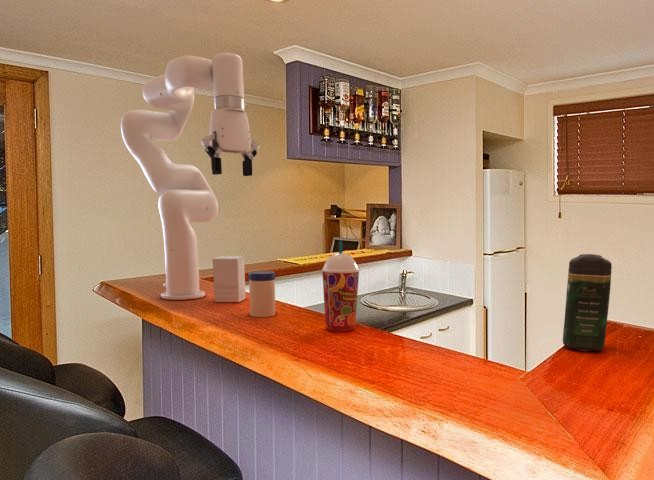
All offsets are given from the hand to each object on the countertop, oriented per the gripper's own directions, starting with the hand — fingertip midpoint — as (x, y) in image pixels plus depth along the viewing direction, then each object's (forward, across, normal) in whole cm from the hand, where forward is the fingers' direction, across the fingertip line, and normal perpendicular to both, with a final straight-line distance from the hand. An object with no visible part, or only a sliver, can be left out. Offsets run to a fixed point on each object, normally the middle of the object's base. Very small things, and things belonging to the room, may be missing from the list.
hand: (232, 175), depth 145 cm
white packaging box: (+35, -6, -12) cm, 38 cm away
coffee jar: (+38, -22, +83) cm, 94 cm away
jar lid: (+25, +1, +11) cm, 27 cm away
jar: (+35, +1, +11) cm, 37 cm away
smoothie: (+36, 0, +37) cm, 52 cm away
